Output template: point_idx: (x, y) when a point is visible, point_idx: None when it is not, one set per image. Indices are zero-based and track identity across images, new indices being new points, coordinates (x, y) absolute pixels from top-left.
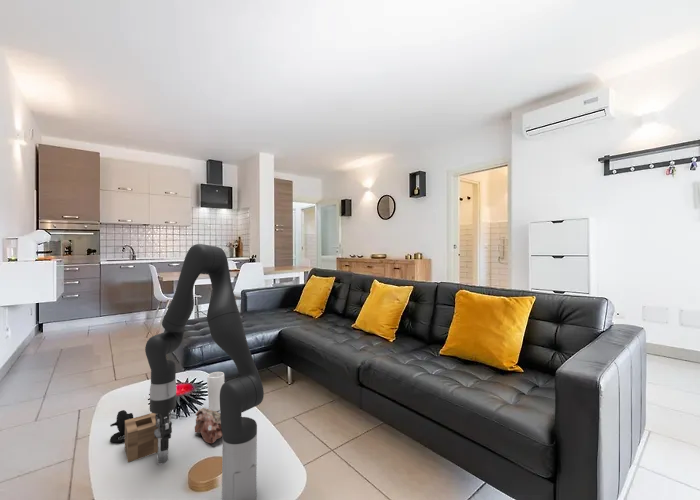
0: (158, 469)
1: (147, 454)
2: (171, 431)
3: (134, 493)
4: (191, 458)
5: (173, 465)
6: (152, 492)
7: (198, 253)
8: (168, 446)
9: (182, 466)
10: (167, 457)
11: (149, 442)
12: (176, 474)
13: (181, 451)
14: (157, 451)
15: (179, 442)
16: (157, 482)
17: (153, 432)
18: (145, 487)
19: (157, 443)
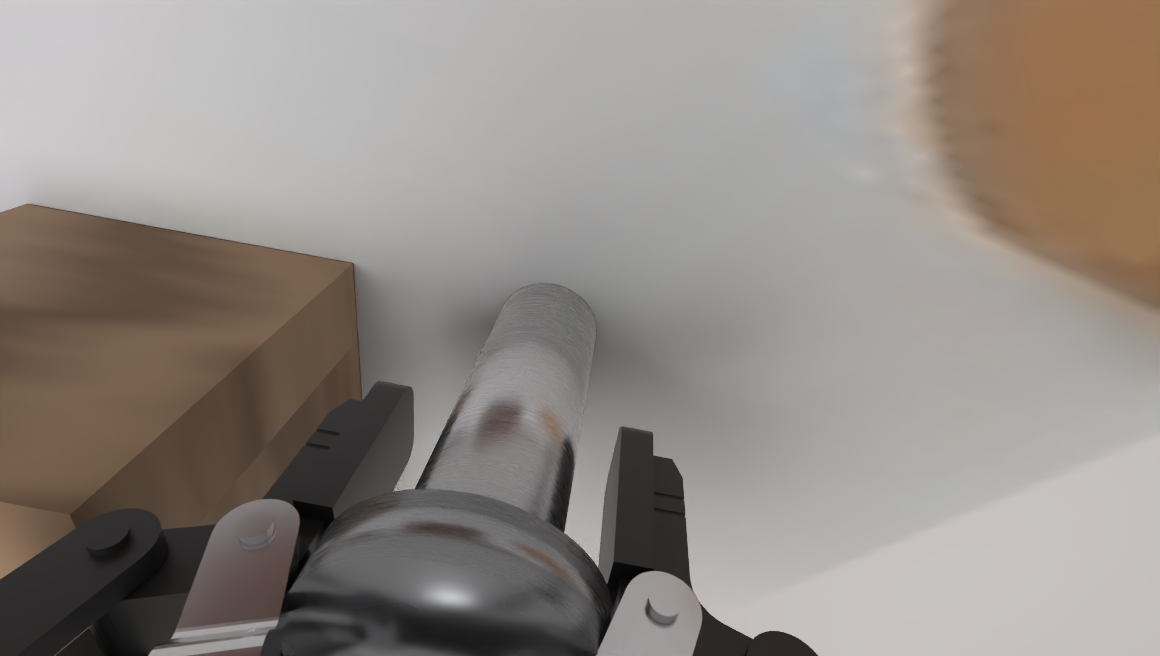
0: (654, 397)
1: (354, 392)
2: (535, 538)
3: (797, 575)
4: (768, 88)
5: (713, 290)
6: (915, 518)
7: None
8: (650, 451)
9: (820, 235)
10: (581, 321)
11: (288, 462)
12: (890, 328)
13: (509, 119)
14: (351, 316)
15: (273, 50)
16: (831, 461)
17: (205, 521)
18: (803, 523)
19: (303, 365)
